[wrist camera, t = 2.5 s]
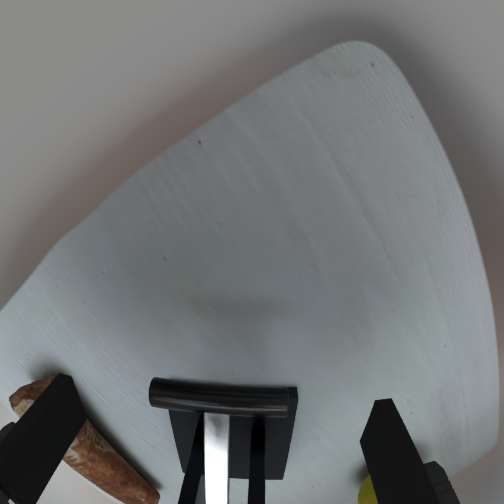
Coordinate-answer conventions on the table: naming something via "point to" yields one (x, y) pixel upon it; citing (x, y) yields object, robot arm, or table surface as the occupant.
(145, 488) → the bread
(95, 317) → the table surface
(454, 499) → the robot arm
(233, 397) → the lever
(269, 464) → the bracket
